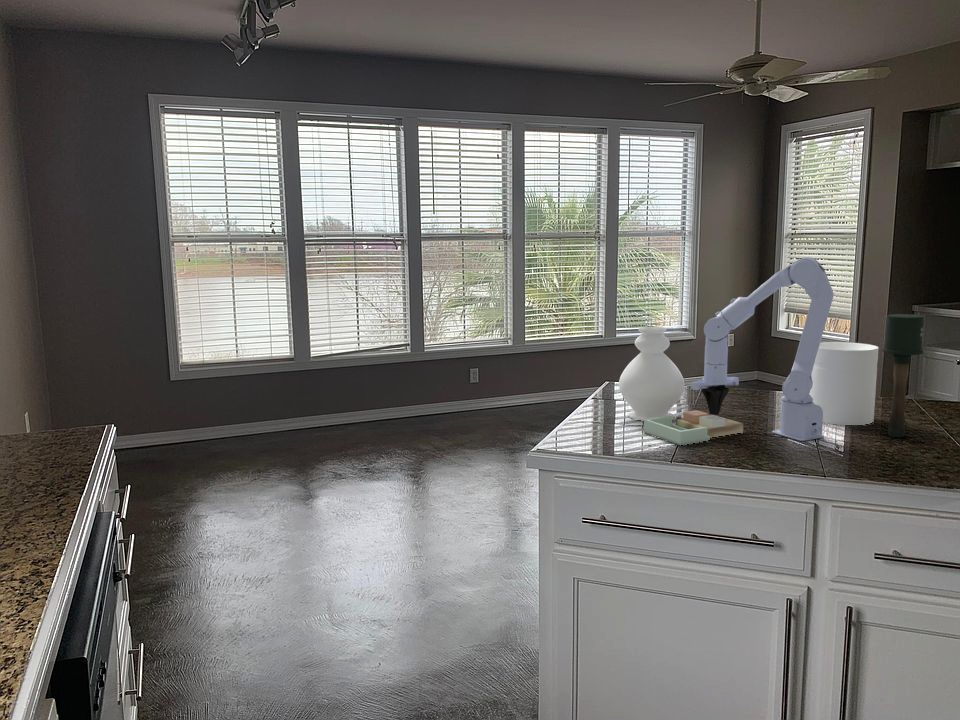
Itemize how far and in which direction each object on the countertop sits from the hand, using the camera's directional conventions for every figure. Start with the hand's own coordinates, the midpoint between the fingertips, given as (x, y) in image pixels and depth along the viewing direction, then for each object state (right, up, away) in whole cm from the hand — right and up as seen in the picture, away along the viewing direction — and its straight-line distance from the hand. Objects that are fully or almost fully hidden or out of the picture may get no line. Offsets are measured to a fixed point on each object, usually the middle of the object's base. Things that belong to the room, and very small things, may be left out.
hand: (714, 414), depth 193 cm
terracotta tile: (-6, -1, -2) cm, 6 cm away
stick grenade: (+41, -5, -12) cm, 43 cm away
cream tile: (-3, -2, -8) cm, 9 cm away
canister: (+37, -2, +7) cm, 37 cm away
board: (-2, -4, -4) cm, 6 cm away
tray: (-12, -5, -9) cm, 16 cm away
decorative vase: (-14, -2, +13) cm, 19 cm away
